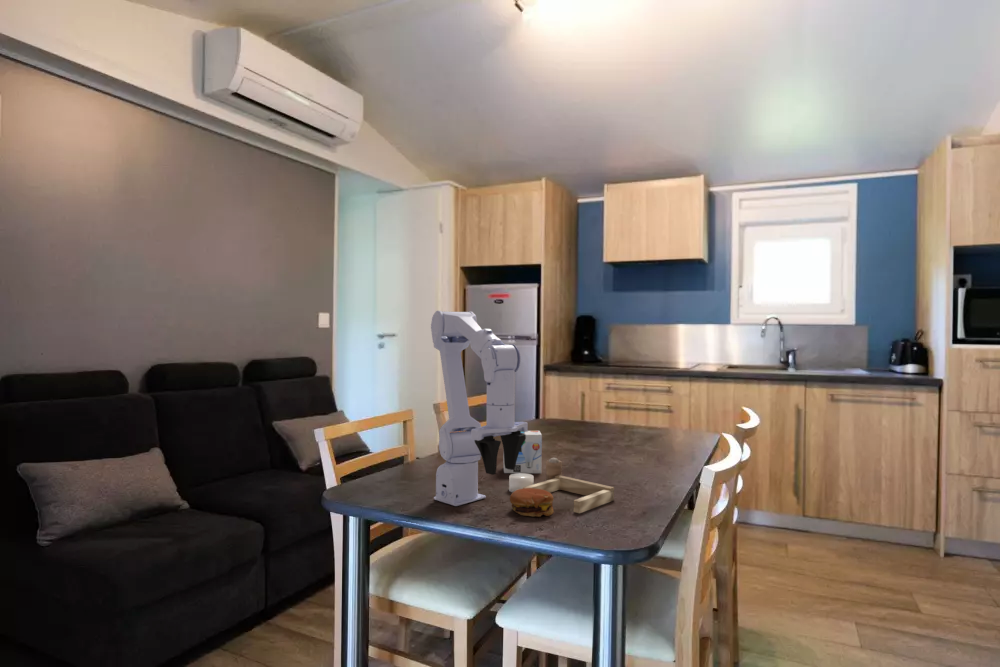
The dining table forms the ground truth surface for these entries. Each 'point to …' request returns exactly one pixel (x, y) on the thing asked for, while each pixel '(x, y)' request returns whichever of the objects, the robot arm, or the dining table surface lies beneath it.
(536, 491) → the burger
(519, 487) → the white dome
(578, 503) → the bay
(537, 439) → the light bulb box
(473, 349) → the robot arm
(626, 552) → the dining table surface
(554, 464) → the pepper mill
